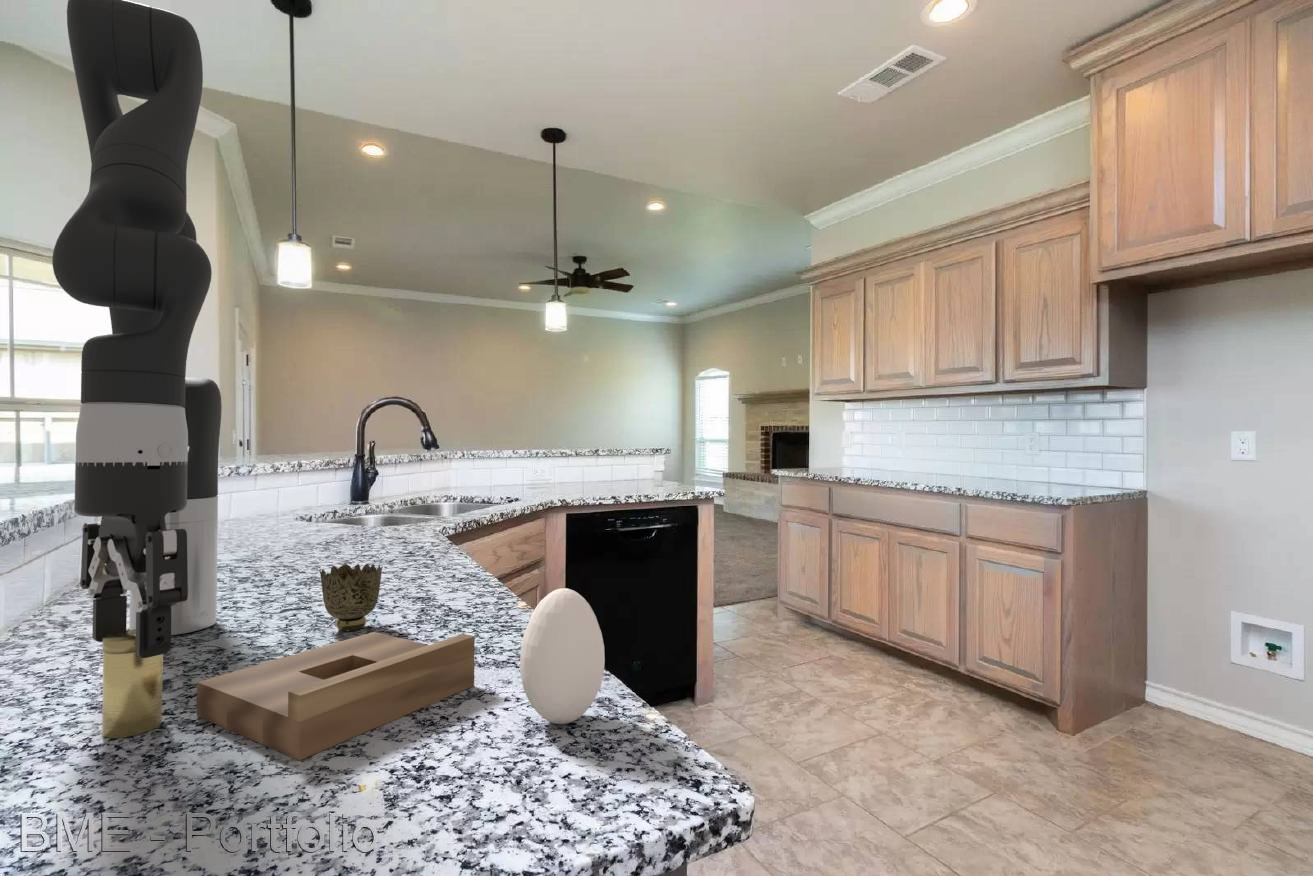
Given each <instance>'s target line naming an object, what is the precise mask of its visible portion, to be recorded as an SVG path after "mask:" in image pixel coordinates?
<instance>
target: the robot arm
mask: <svg viewBox="0 0 1313 876" xmlns="http://www.w3.org/2000/svg"><path fill="white" fill-rule="evenodd" d="M66 7H67V8H66V24H67V25H66V26H67V35H68V40H69V47H70V53H71V59H72V64H73V70H74V75H75V79H76V80H75V81H76V84H77V85H76V86H77V90H78V95H79V101H80V105H81V110H82V111H81V112H82V115H83V120H84V125H85V130H86V135H87V141H88V142H87V143H88V147H89V148H88V149H89V154H90V161H91V162H90V163H91V170H90V179H89V180H90V181H89V187H88V193H87V195H86V196H85V198H84V199H83V201H82V202H81V204H80V206H78V208H77V209H76V211H75V212H74V213H73V214H72V216H71V217H70V218H69V220H68V221H67V222H66V224H65V225H64V227H63V228H62V230H61V232H60V233H59V235H58V237H57V239H56V241H55V245H54V248H53V252H52V259H51V260H52V269H53V275H54V277H55V279H56V282H57V283H58V284H59V287H61V288H62V290H63V291H64V292H65V293H66V294H67V295H68V296H70V297H71V298H72V299H74V300H76V301H78V302H79V303H83V304H84V305H85V304H87V305H89V306H90V305H91V306H96V307H103V308H108V310H109V311H108V312H109V317H110V325H111V334H103V335H96V336H93V337H91V338H89V339H88V340H86V341H85V343H84V344H83V347H82V351H81V364H80V366H81V373H80V377H81V378H80V379H81V380H80V403H81V404H80V408H79V410H80V411H79V415H78V420H77V424H76V432H75V434H76V435H75V459H74V460H75V465H74V467H75V469H74V512H75V513H76V514H77V515H80V516H82V517H92V518H94V517H96V518H97V517H99V518H101V519H100V521H96V522H95V521H94V522H85V523H84V524H83V526H82V528H81V531H82V540H81V541H82V542H81V543H82V544H81V568H80V569H81V570H80V581H79V585H80V587H81V589H82V590H88V591H87V595H88V596H89V598H90V599H91V600H92V640H93V641H96V642H97V643H103V638H104V637H105V636H107V635H110V634H113V633H116V632H120V631H125V630H127V616H128V615H127V613H128V612H127V610H128V609H127V608H128V607H127V606H128V595H126V594H127V592H128V591H129V622H128V623H129V627H128V628H129V629H128V630H131V629H136V655H137V656H139V657H142V658H148V657H153V656H157V655H161V654H163V655H165V654H167V653H169V651H170V650H171V647H172V636H176V635H182V634H183V635H184V634H188V633H192V632H196V631H200V630H203V629H208V628H210V627H211V626H213V625H215V624H216V623H217V608H218V607H217V606H218V605H217V603H218V600H217V599H218V598H217V597H218V540H219V539H218V534H219V533H218V528H219V525H218V524H219V521H218V520H219V518H218V515H219V498H218V497H219V496H218V495H219V447H220V436H221V423H222V409H223V407H222V395H221V391H220V388H219V386H218V384H217V383H216V382H215V381H214V380H213V379H210V378H205V377H193V376H191V377H189V376H186V375H187V373H186V372H187V371H186V370H187V360H188V359H187V358H188V353H189V347H190V342H191V337H192V335H193V332H194V328H195V325H196V322H197V321H198V318H199V315H200V313H201V309H202V307H203V306H204V302H205V300H206V297H207V296H208V292H209V289H210V285H211V283H212V265H211V262H210V258H209V256H208V255H207V253H206V251H205V250H204V248H203V247H202V246H201V245H200V244H199V243H197V242H198V241H197V239H198V238H197V231H196V228H195V224H194V222H193V220H192V218H191V217H190V214H189V213H188V211H187V202H188V201H187V167H188V158H189V152H190V148H191V144H192V141H193V138H194V133H195V129H196V124H197V121H198V115H199V109H200V106H201V99H202V96H203V95H202V94H203V86H204V85H203V84H204V82H203V81H204V80H203V79H204V77H203V76H204V73H203V57H202V51H201V50H202V49H201V44H200V40H199V37H198V34H197V32H196V30H195V28H194V26H193V25H192V23H191V22H190V21H189V20H188V19H186V17H183V16H181V15H179V14H177V13H174V12H171V11H169V10H166V9H161V8H158V7H155V6H151V5H147V4H143V3H139V2H136V1H131V0H67V5H66ZM118 96H125V97H131V98H135V99H141V100H146V101H145V102H143V103H142V104H140V105H138V106H136V107H134V108H133V109H132V110H129V111H128V112H126V113H125V114H124V113H123V111H122V108H121V106H120V102H119V97H118Z"/></svg>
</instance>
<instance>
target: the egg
mask: <svg viewBox="0 0 1313 876" xmlns="http://www.w3.org/2000/svg"><path fill="white" fill-rule="evenodd" d="M521 642H522V643H521V648H520V655H519V656H520V658H519V659H520V660H519V661H520V662H519V668H520V679H521V683H522V688H523V691H524V694H525V695H526V698H527V699H528V701H529V703H530V706H532V708H533V709H534V710H535V711H536V713H537V714H538V716H540V717H542V718H543V719H544V720H545V721H548V722H550V723H552V724H557V725H566V724H569V723H572V722H574V721H577V720H578V719H579V718H581V717H582V716H583V715H584V714H585V713H586V712H587V711H588V710H589V708H590V707H591V706H592V704H593V703H594V702H595V699H596V697H597V695H598V693H599V691H600V689H601V686H602V682H603V678H604V674H605V673H604V672H605V661H606V659H605V644H604V639H603V634H602V631H601V628H600V624H599V622H598V619H597V616H596V614H595V612H594V610H593V608H592V606H591V605H590V603H589V602H588V601H587V600H586V599H585V598H584V597H583V596H582V595H581V594H579V592H577V591H575V590H573V589H570V588H567V587H566V588H557V589H554V590H552V591H550V593H548V594H547V595H546V596H544V598H542V599H541V600H540V601H539V603H538V604H537V605H536V607H535V609H534V610H533V612H532V614H531V616H530V618H529V620H528V623H527V626H526V628H525V631H524V633H523V636H522V641H521Z"/></svg>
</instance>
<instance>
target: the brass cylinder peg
mask: <svg viewBox="0 0 1313 876" xmlns="http://www.w3.org/2000/svg"><path fill="white" fill-rule="evenodd" d="M102 654H103V655H102V657H103V659H102V712H101V713H102V716H101V717H102V719H101V720H102V721H101V722H102V727H101V728H102V729H101V735H102V737H105V738H109V739H119V738H121V739H122V738H127V737H132V736H137V735H140V734H143V733H147V732H149V731H152V730H154V729H155V728H158V727H159V726H160V725H162V723H163V683H164V682H163V678H164V677H163V676H164V675H163V674H164V673H163V672H164V670H163V669H164V668H163V666H164V665H163V664H164V661H163V659H164V656H163V655H164V654H161V655H157V656H153V657H148V658H142V657H139V656H137V655H136V629H131V630H129V629H126V630H125V631H120V632H116V633H113V634H110V635H107V636H105V637H104V638H103V642H102Z"/></svg>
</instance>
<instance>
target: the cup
mask: <svg viewBox="0 0 1313 876" xmlns="http://www.w3.org/2000/svg"><path fill="white" fill-rule="evenodd" d="M382 572H383V565H382V566H381V565H380V564H379V565H378V566H377V567H375V564H373V563H372V564H371V566H370V565H369V563H366V564H364V565H363V567H362V568H361V567H360V563H357V564H356V565H354V567H351V566H350V565H348V564H347V563H345V564H342V565H340V566H339V567H337V566H336V565H332V567H330V573H329V572H327V573H326V571H325V570H324V569H321V570H319V575H320V581H321V590H322V598H323V604H324V607H325V610H326V612H327V613H328V614H329V615H330V616H331V617H332V618H334V619H337V620H336V622H335V627H336V628H337V629H338V631H342V632H353V631H358V630H360V629H362V628H364V627H365V625H366V624H367V618H366V616H367V615H369V614H370V613H372V612H373V610H374V609H375V607H376V606H377V603H378V600H379V595H380V588H381V582H382V581H381V578H382Z"/></svg>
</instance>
